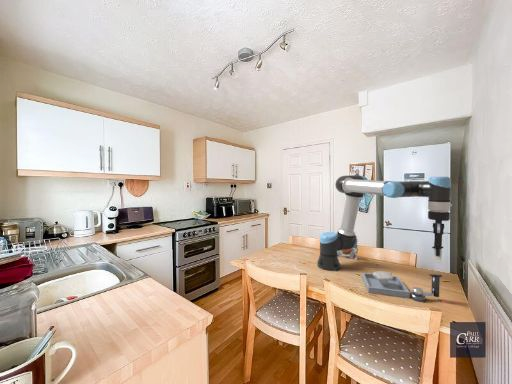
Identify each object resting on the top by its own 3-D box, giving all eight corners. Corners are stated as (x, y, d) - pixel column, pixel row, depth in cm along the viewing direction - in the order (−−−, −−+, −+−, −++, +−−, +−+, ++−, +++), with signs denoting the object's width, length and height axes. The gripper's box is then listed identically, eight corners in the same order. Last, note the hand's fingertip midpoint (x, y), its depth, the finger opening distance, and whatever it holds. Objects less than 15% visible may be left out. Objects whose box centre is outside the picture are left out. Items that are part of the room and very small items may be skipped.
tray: (368, 292, 114) (368, 287, 114) (362, 277, 132) (362, 272, 132) (409, 298, 109) (409, 292, 109) (397, 281, 127) (397, 276, 127)
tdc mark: (442, 302, 104) (442, 301, 104) (440, 301, 106) (440, 300, 106) (449, 303, 104) (449, 302, 104) (448, 302, 105) (448, 301, 105)
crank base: (412, 300, 106) (413, 297, 106) (408, 294, 112) (408, 291, 112) (427, 302, 104) (427, 298, 104) (421, 296, 110) (422, 292, 110)
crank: (415, 296, 106) (416, 275, 106) (411, 292, 110) (411, 272, 110) (443, 297, 104) (444, 276, 104) (438, 293, 108) (438, 273, 108)
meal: (336, 256, 169) (336, 240, 168) (337, 255, 172) (337, 239, 172) (356, 261, 160) (356, 243, 159) (357, 259, 163) (358, 242, 163)
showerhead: (398, 276, 116) (380, 276, 115) (397, 289, 117) (380, 290, 116) (386, 269, 126) (369, 269, 125) (385, 281, 126) (369, 282, 125)
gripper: (450, 213, 89) (449, 269, 90) (449, 210, 99) (447, 260, 100) (427, 212, 94) (426, 264, 95) (428, 208, 104) (427, 256, 105)
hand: (437, 262), depth 97 cm, fingers closed
